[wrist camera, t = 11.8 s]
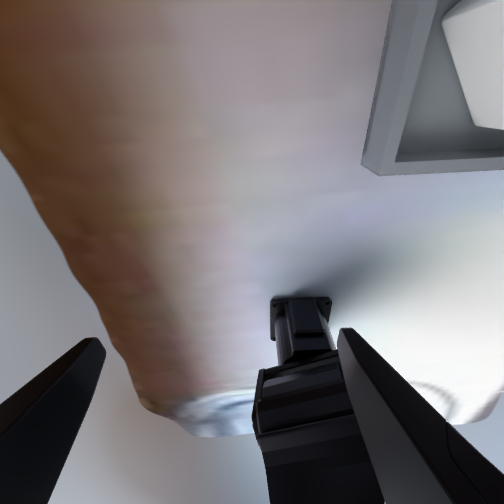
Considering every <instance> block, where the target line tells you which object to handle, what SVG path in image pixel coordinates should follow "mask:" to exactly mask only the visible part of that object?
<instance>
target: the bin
mask: <svg viewBox="0 0 504 504" xmlns="http://www.w3.org/2000/svg"><path fill="white" fill-rule="evenodd" d="M460 1H461V0H393V1H392V7H391V12H390V17H389V22H388V27H387V32H386V37H385V43H384V48H383V53H382V58H381V63H380V68H379V73H378V78H377V84H376V89H375V94H374V99H373V104H372V109H371V114H370V120H369V125H368V130H367V135H366V140H365V145H364V150H363V156H362V161H361V165H362V166H364V167H365V168H367V169H368V170H370V171H371V172H373V173H375V174H376V175H378V176H389V175H409V174H428V173H448V172H468V171H488V170H504V130H501V129H494V128H487V127H480V126H476V125H475V124H474V123H473V120H472V117H471V114H470V111H469V108H468V105H467V102H466V99H465V96H464V93H463V90H462V87H461V83H460V80H459V77H458V74H457V71H456V68H455V65H454V62H453V59H452V56H451V53H450V50H449V47H448V43H447V40H446V37H445V34H444V31H443V28H442V23H441V22H442V19H443V17H444V16H445V14H446V13H447V12H448V11H450V10H451V9H452V8H453V7H454V6H455V5H456V4H458V3H459V2H460Z"/></svg>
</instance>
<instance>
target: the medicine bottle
mask: <svg viewBox="0 0 504 504" xmlns="http://www.w3.org/2000/svg"><path fill="white" fill-rule="evenodd" d="M441 23H442V28H443V31H444V34H445V37H446V40H447V43H448V47H449V50H450V53H451V56H452V59H453V62H454V65H455V68H456V71H457V74H458V77H459V80H460V83H461V87H462V90H463V93H464V96H465V99H466V102H467V105H468V108H469V111H470V114H471V117H472V120H473V123H474V124H475V125H476V126H480V127H487V128H494V129H501V130H504V0H461V1H460V2H459V3H458V4H456V5H455V6H454V7H453V8H452V9H451V10H450V11H448V12H447V13H446V14H445V16H444V17H443V19H442V22H441Z"/></svg>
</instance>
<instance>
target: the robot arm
mask: <svg viewBox="0 0 504 504" xmlns="http://www.w3.org/2000/svg"><path fill="white" fill-rule="evenodd" d="M327 301H328V302H327ZM331 306H332V301H331V299H330V298H329V297H317V298H293V299H273V300H271V301H270V337H271V340H272V341H276V346H277V355H278V365H279V366H275V367H272V368H268V369H265V368H264V369H261V370H259V373H258V379H257V385H256V392H255V398H254V405H253V411H252V422H253V429H254V432H255V435H256V440H257V442H258V445H259V447H260V449H261V451H262V455H263V459H264V464H265V469H266V475H267V483H268V490H269V498H270V504H385V503H386V504H504V474H503V473H502V472H501V471H500V470H498V469H497V468H496V467H495V466H494V465H493V464H492V463H491V462H489V461H488V460H487V459H486V458H485V457H484V456H483V455H482V454H481V453H479V451H478V450H477V449H475V448H474V447H473V446H472V445H471V444H470V443H469V442H468V441H467V440H466V439H465V438H464V437H463V436H462V435H461V434H460V433H459V432H458V431H457V430H456V429H455V428H454V427H453V426H452V425H451V424H450V423H449V422H446V420H445V419H444V418H443V417H442V416H441V415H440V414H439V413H438V412H437V411H436V410H435V409H434V408H433V407H432V406H431V405H430V404H429V403H428V402H427V401H426V400H425V399H424V398H423V397H422V396H421V395H420V394H419V393H418V392H417V391H416V390H415V389H414V388H413V387H412V386H411V385H410V384H409V383H408V382H407V381H406V380H405V379H404V378H403V377H402V376H401V375H400V374H399V373H398V372H397V371H396V370H395V369H394V368H393V367H392V366H391V365H390V364H389V363H388V362H387V361H386V360H385V359H384V358H383V357H382V356H381V355H380V354H379V353H378V352H377V351H375V350H374V349H373V348H372V347H371V346H370V345H369V344H368V343H367V342H366V341H365V340H364V339H363V338H362V337H361V336H360V335H359V334H358V333H357V332H356V331H355V330H354V329H353V328H341V329H340V331H339V336H338V340H337V348H338V349H336V347H335V344H334V341H333V338H332V335H331V332H330V330H329V327H328V322H329V316H330V311H331ZM105 358H106V350H105V348H104V347H103V345H102V344H101V342H100V340H99V339H98V338H96V337H92V338H85V339H83V340H82V341H80V342H79V343H78V344H77V345H75V346H74V347H73V348H71V349H70V350H69V351H68V352H66V353H65V354H64V355H62V356H61V357H60V358H59V359H57V360H56V361H55V362H53V363H52V364H51V365H50V366H48V367H47V368H46V369H45V370H43V371H42V372H41V373H40V374H38V375H37V376H36V377H34V378H33V379H32V380H31V381H29V382H28V383H27V384H26V385H24V386H23V387H22V388H20V389H19V390H18V391H17V392H15V393H14V394H13V395H11V396H10V397H9V398H8V399H6V400H5V401H4V402H2V403H1V404H0V504H47V503H48V501H49V499H50V497H51V494H52V492H53V490H54V487H55V485H56V483H57V480H58V478H59V476H60V473H61V471H62V469H63V466H64V464H65V462H66V459H67V457H68V455H69V452H70V450H71V448H72V445H73V443H74V441H75V438H76V436H77V434H78V431H79V429H80V427H81V424H82V422H83V419H84V417H85V414H86V412H87V410H88V408H89V405H90V403H91V400H92V398H93V395H94V392H95V389H96V386H97V383H98V380H99V376H100V373H101V370H102V367H103V364H104V361H105Z"/></svg>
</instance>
